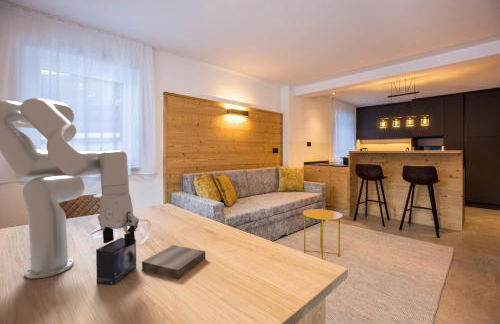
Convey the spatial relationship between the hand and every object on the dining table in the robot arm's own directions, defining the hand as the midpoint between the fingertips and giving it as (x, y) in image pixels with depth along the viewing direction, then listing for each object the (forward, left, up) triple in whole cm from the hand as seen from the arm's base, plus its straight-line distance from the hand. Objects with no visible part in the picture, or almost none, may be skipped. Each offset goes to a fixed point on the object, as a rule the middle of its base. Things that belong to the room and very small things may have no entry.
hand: (119, 243), depth 76 cm
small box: (-1, 0, -11) cm, 11 cm away
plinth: (+11, +13, -11) cm, 20 cm away
